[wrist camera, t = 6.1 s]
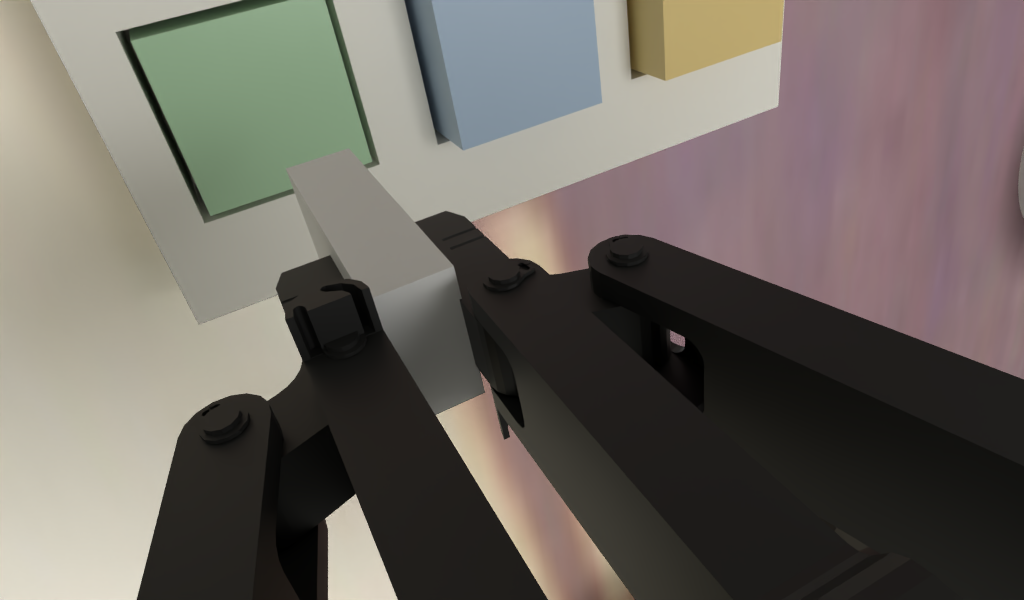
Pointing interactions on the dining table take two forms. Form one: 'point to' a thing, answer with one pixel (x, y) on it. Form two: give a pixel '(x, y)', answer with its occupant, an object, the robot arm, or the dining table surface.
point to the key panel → (376, 135)
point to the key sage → (251, 94)
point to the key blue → (504, 63)
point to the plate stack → (1021, 185)
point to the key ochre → (698, 32)
